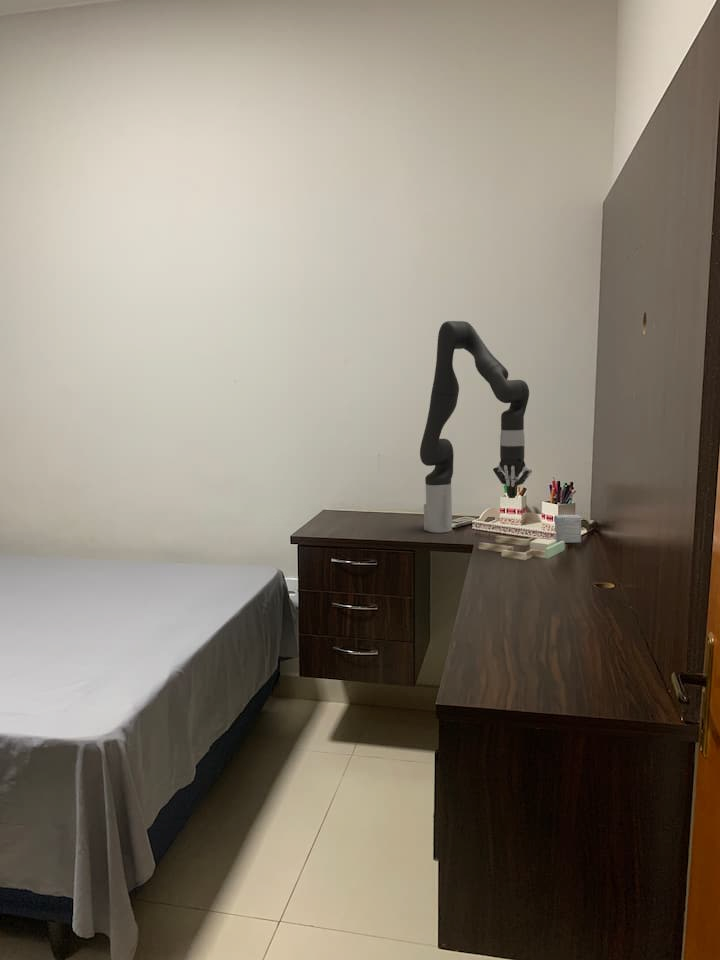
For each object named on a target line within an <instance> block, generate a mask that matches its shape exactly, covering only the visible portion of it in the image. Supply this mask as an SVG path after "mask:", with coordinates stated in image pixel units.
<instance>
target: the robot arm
mask: <svg viewBox="0 0 720 960" xmlns="http://www.w3.org/2000/svg"><path fill="white" fill-rule="evenodd" d="M462 349H463V350H465V351H467V352H468V353H469V354H470V355H471V356H473V359H474V364H475V368H476V370H477V372H478V373H479V375H480V376H481V377H482V378H483V379H484V380H485V381H486V382H487V383H488V384H489V386H490V388H491V391H492V393H493V394H494V397H495V398H496V399H497V400H498V401H500V402H501V403H504V404H510V405H509V408H508V409H507V410H505V411H503V412H502V413H501V415H500V416H501V417H500V435H499V437H500V438H499V441H500V442H499V447H500V448H499V454H500V455H499V456H500V457H499V458H500V461H499V463H498V464H499V465H497V466H496V467H493V469H492V471H493V472H494V473H495V475H496V477H497V479H498V480H499V482H500V483H501V484H502V485H505V486H506V496H507V498H509V499H515V498H516V497H517V495H518V487H519V486H521V485H524V483H525V482H526V480H527V479H528V478H529V477H530V475H531V474H532V472H533V471H532V469H528V467H526V463H525V444H526V442H525V430H524V429H525V426H524V424H525V423H524V422H525V421H524V420H525V419H524V416H525V415H526V414H525V413H526V411H527V405H528V402H529V398H530V390H529V389H530V388H529V386H528V384H527V382H526V381H524V380H523V379H513V380H512V379H511V380H509V379H508V378H509V371H508V369H507V368H506V367H505V366H504V365H503V364H502V363H501V362H500V361H499V360H498V359H497V357H495V356H494V355H493V353H491V351H490V350H489V349H488V347H487V346H486V344H485V343H484V342H483V340H482V339H481V337H480V335H479V334H478V333H477V330H475V328H474V327H473V326H472V325H471V323H469V322H467V321H463V320H447V321H444V322H443V323H442V324H441V325H440V328H439V330H438V335H437V347H436V359H435V360H436V361H435V362H436V363H435V370H434V378H433V383H432V388H431V392H430V402H429V409H428V414H427V419H426V424H425V429H424V432H423V434H422V440H421V443H420V448H419V457H420V461H421V463H422V464H423V465H425V466H427V467H428V466H429V467H433V466H434V467H433V469H432V470H431V472H430V473H428V474H427V475H426V476H425V478H424V481H425V483H424V484H425V504H423V524H424V525H423V527H424V528H423V530H424V531H427V532H429V533H440V534H441V533H449V532H452V530H453V516H452V515H453V509H452V507H453V506H452V504H453V503H452V478H453V474H454V457H455V456H454V446H453V444H452V443H451V441H450V440H449V439H447V438H440V437H441V434H442V430H443V429H444V426H445V424H446V423H448V420H450V417H452V415H453V414H454V412H455V409H456V407H457V404H458V398H459V394H460V386H459V382H458V379H457V378H458V377H457V376H456V373H455V370H454V367H453V366H454V365H453V364H454V363H453V362H454V353H455V350H462ZM520 475H521V476H520Z"/></svg>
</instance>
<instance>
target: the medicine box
mask: <svg viewBox="0 0 720 960" xmlns="http://www.w3.org/2000/svg"><path fill="white" fill-rule="evenodd" d="M555 532H556V543H558V542H560V541H565V544H571V543H572V544H573V543H574V544H576V543H578V544H579V543H582V517H581V516H580V515H579V514H559V515H558V514H555V515H554V533H555Z"/></svg>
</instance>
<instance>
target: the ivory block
mask: <svg viewBox="0 0 720 960" xmlns="http://www.w3.org/2000/svg"><path fill="white" fill-rule="evenodd" d="M556 543H557V542H556V540H549V539H540V538H537V539H535V540H533V541H531V542H530V547H529V550H531V549H534V550H541V551H545V548H547V547H549V546H552V545H554V544H556Z"/></svg>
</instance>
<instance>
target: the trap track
mask: <svg viewBox="0 0 720 960" xmlns="http://www.w3.org/2000/svg"><path fill="white" fill-rule="evenodd" d="M537 538H540V539H549V540H556V539H555V538H548V537H542V536H536V535H535V536H530V537H529V538H517V537H511V536H504V535H503V536H502V535H495V543H496V544H495V543H488V542H478V549H479V550H484V551H491V552H496V553H497V552H499V553H501V557H502V558H506V559H507V558H508V559H515V560H520V561H526V560H528V559H531V558H533V557H535V558H540V559H546V560H548V559H550V558H552V557H555V556H556V555H558V554H560V553H562V552H564V551H565V547H566V546H565V544H566V543H565V541H560V542H558V543H557V542H556V544H554V545H552V546H549V547H547V548H545V551H541V550H534V549H531V550H530V549H529V550H527V551H525V552H521V551H515V548H514V547H515V546H510V545H516V546H523V547H529V548H530V542H531V541H533V540H535V539H537ZM497 543H501V544H497ZM503 544H504V545H503ZM505 544H507V545H505ZM508 544H509V545H508Z"/></svg>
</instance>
